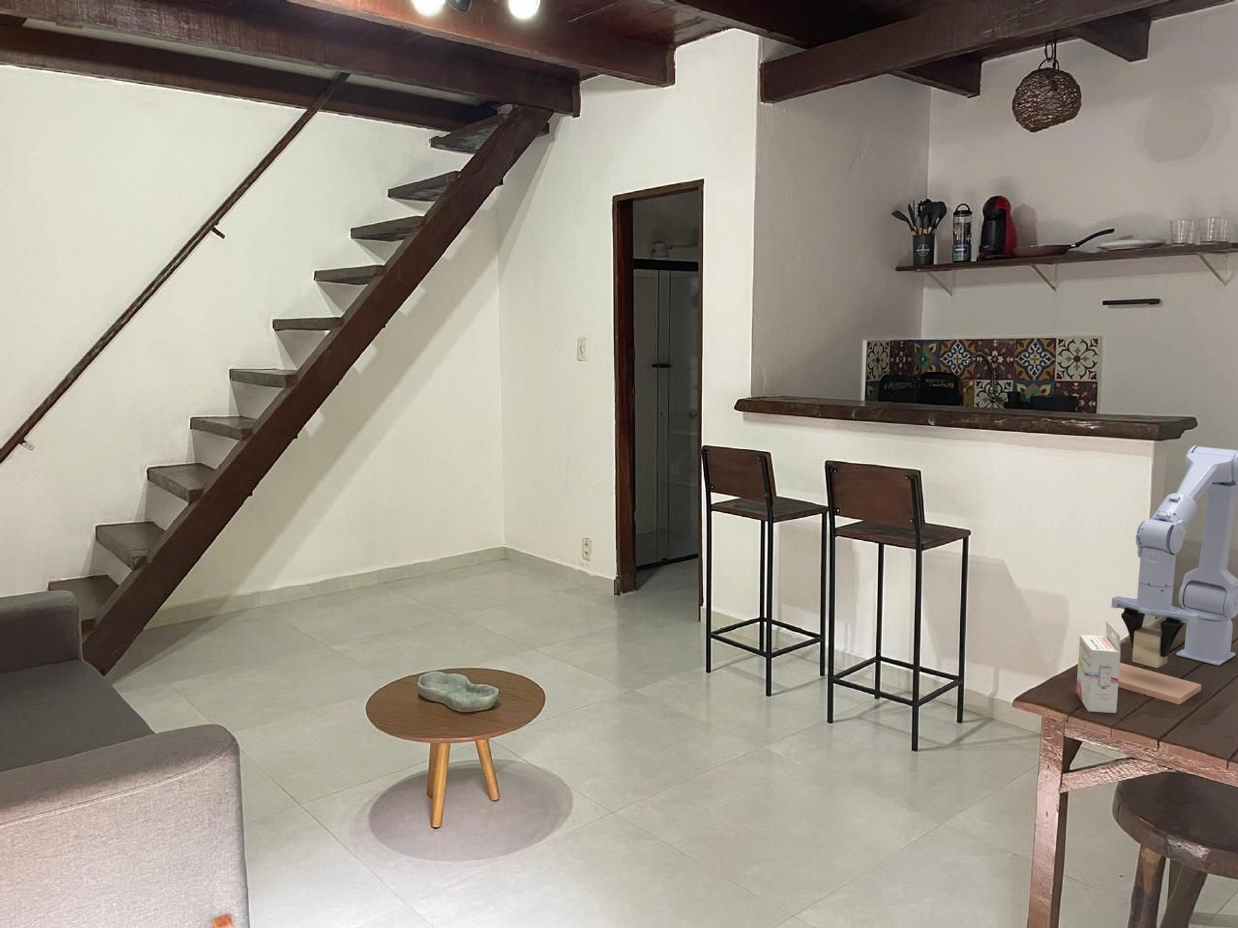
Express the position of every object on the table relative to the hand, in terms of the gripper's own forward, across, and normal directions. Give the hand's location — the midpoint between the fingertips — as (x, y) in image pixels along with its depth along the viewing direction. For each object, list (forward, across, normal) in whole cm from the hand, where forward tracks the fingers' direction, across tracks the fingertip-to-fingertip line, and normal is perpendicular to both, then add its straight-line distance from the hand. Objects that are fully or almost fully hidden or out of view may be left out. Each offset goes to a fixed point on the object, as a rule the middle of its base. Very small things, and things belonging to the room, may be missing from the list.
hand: (1150, 651), depth 177 cm
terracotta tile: (+7, 0, 0) cm, 7 cm away
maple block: (+2, 0, 0) cm, 2 cm away
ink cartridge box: (+7, -2, -16) cm, 18 cm away
